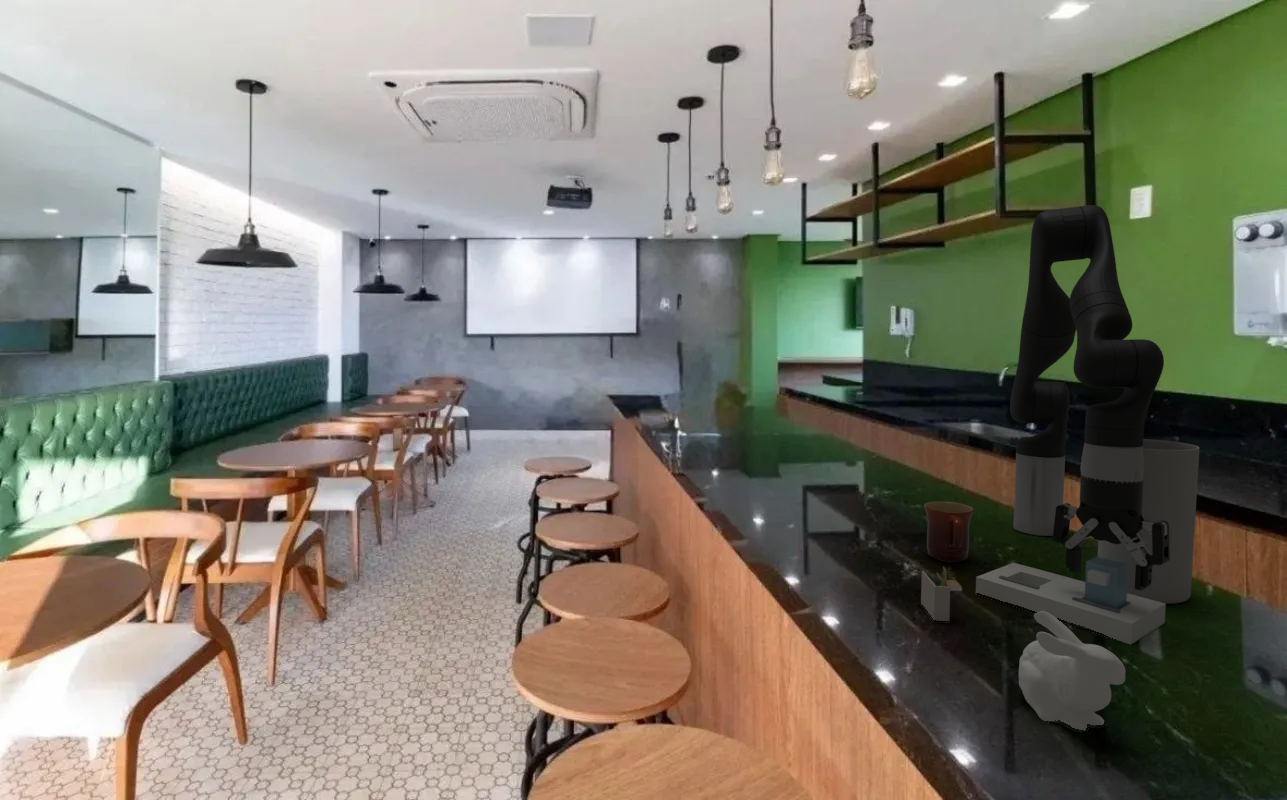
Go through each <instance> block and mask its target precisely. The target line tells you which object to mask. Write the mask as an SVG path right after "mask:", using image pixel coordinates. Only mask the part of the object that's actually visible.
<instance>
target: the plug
mask: <svg viewBox="0 0 1287 800" xmlns="http://www.w3.org/2000/svg"><path fill="white" fill-rule="evenodd" d="M1084 579H1085V581H1084V582H1085V600H1088V601H1091V602H1095V603H1098V604H1101V605H1105V606H1108V607H1112V608H1115V609H1121V608H1123V607H1125V606H1126V602H1127V582H1128V563H1125V562H1121V561H1117V560H1112V559H1108V558H1104V557H1099V556H1098V555H1097V556H1095V557H1093V558H1091V559H1088V560H1086V562H1085V577H1084Z"/></svg>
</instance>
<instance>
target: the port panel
mask: <svg viewBox="0 0 1287 800" xmlns="http://www.w3.org/2000/svg"><path fill="white" fill-rule="evenodd" d="M976 593H980V594H982V595H986V596H989V597H992V598H995V599H998V600H1000V601H1003V602H1008V603H1011V604H1014V605H1018V606H1021V607H1024V608H1027V609H1029V610H1032V611H1035V612H1041V611H1045V612H1048V613H1050V614H1051V615H1053V616H1054V617H1056V618H1059V619H1061V620H1064V621H1067V622H1070V623H1073V624H1076V625H1080V626H1084V627H1086V628H1089V629H1091V630H1094V631H1096V632H1099V633H1102V634H1104V635H1106V636H1108V637H1107V638H1109V637H1110V638H1109V639H1112V638H1113V640H1115V639H1116V641H1119V642H1122V643H1125V644H1128V645H1133V644H1134V643H1136V642H1137V641H1138V640H1140V639H1142V638H1143V637H1146V636H1147V635H1148V634H1150V633H1152V632H1153V631H1154V630H1156V629H1157V628H1159V627H1161V626H1163V625H1164V624H1165V621H1166V606H1167V604H1165V603H1161V602H1158V601H1154V600H1150V599H1147V598H1143V597H1139V596H1135V595H1132V594H1128V593H1127V602H1126V606H1125V607H1123V608H1121V609H1115V608H1112V607H1108V606H1105V605H1101V604H1098V603H1095V602H1091V601H1088V600H1085V581H1083V580H1080V579H1079V580H1078V579H1077V578H1076V579H1075V578H1072V577H1068V576H1065V575H1061V574H1056V573H1054V572H1050V571H1046V570H1042V569H1038V568H1035V567H1031V566H1027V565H1023V564H1019V563H1018V562H1017V563H1016V562H1012V563H1009V564H1006V565H1003V566H1002V567H999V568H996V569H993V570H991V571H988V572H986V573H983V574H981V575H977V576H976V577H975V594H976ZM1106 636H1105V637H1106Z"/></svg>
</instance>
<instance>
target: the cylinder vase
mask: <svg viewBox="0 0 1287 800" xmlns="http://www.w3.org/2000/svg"><path fill="white" fill-rule="evenodd" d="M1143 454H1144V480H1143V498H1142V511H1141V513H1142V516H1143V518H1144V520H1148V521H1155V522H1159V521H1162V520H1164V521H1167V522H1168V523H1169V548H1170V560H1169V561H1168V562H1166V563H1164V564H1162V565H1153V566H1152V582H1151V584H1150V586H1148V587H1146V588H1145V589H1144V590H1142V591H1140V590H1136V589H1135V570H1136V565H1137V564H1138V563H1137V561H1136V560H1135V558H1134V557H1133V556H1132V554H1131V553H1130V552H1128V551H1127V550H1126V549H1125V547H1124V546H1123V545H1122V544H1118V545H1117V544H1113V543H1110V542H1108V541H1099V540H1097V556H1099V557H1104V558H1108V559H1112V560H1117V561H1121V562H1125V563H1128V582H1127V593H1128V594H1132V595H1135V596H1139V597H1143V598H1147V599H1150V600H1154V601H1158V602H1161V603H1165V604H1166V605H1168V604H1169V605H1170V604H1171V605H1172V604H1173V605H1174V604H1181V603H1184V602H1187V601H1188V600H1189V599H1190V597H1191V595H1192V593H1191V592H1192V576H1193V564H1194V563H1193V561H1194V559H1193V558H1194V544H1195V526H1196V513H1197V512H1196V511H1197V498H1198V497H1197V496H1198V478H1199V464H1200V463H1199V462H1200V447H1199V445H1195V444H1190V443H1186V442H1185V443H1184V442H1178V441H1170V440H1162V439H1161V440H1160V439H1148V438H1147V439H1144V438H1143ZM1138 535H1139V536H1140V537H1141V539H1142V540H1143V541H1144V543H1145V546H1146V548H1147V549H1148V551H1149V552H1150V553H1151V555H1152V537H1151V536H1149V535H1148V533H1147V530H1146V529H1145V528H1142V529H1141V530H1140V531H1139V532H1138Z"/></svg>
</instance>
